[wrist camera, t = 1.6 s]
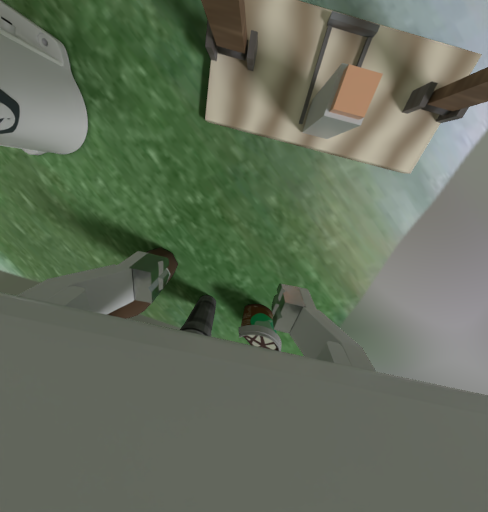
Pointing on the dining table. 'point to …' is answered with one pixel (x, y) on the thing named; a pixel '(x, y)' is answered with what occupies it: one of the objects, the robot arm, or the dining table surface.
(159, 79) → the dining table surface
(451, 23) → the dining table surface
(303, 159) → the dining table surface
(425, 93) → the panel
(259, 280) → the dining table surface
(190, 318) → the beverage cup
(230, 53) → the brown lever
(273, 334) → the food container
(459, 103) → the wooden stick
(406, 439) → the robot arm
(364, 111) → the slider
